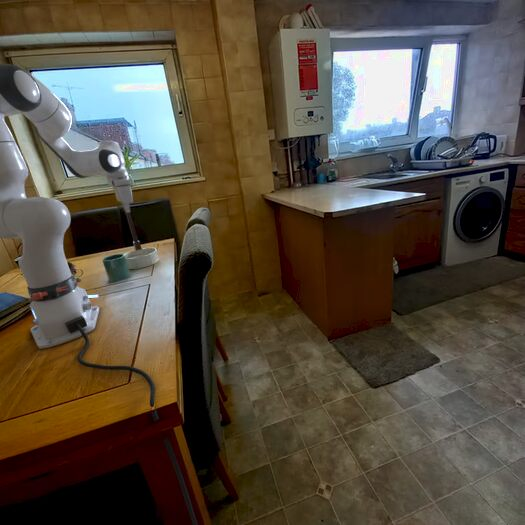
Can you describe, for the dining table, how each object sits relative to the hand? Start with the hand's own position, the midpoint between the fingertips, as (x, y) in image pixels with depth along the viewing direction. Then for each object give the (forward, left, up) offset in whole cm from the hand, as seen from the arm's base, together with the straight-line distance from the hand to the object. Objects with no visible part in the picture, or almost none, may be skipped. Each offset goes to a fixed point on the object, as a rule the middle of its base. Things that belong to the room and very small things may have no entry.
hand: (127, 212), depth 127 cm
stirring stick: (0, 0, -18) cm, 18 cm away
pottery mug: (+14, +32, -26) cm, 43 cm away
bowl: (0, 0, -26) cm, 26 cm away
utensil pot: (-12, +12, -26) cm, 31 cm away
